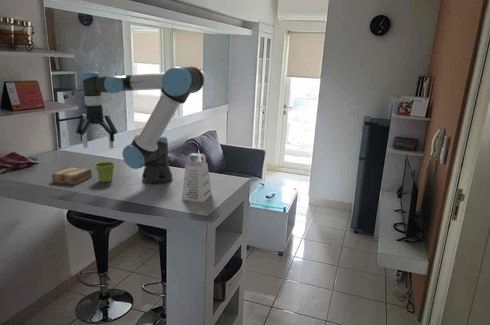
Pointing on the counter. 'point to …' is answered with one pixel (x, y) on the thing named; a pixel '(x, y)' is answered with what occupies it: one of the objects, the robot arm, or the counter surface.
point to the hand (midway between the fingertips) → (98, 147)
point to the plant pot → (105, 171)
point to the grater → (196, 179)
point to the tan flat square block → (71, 175)
